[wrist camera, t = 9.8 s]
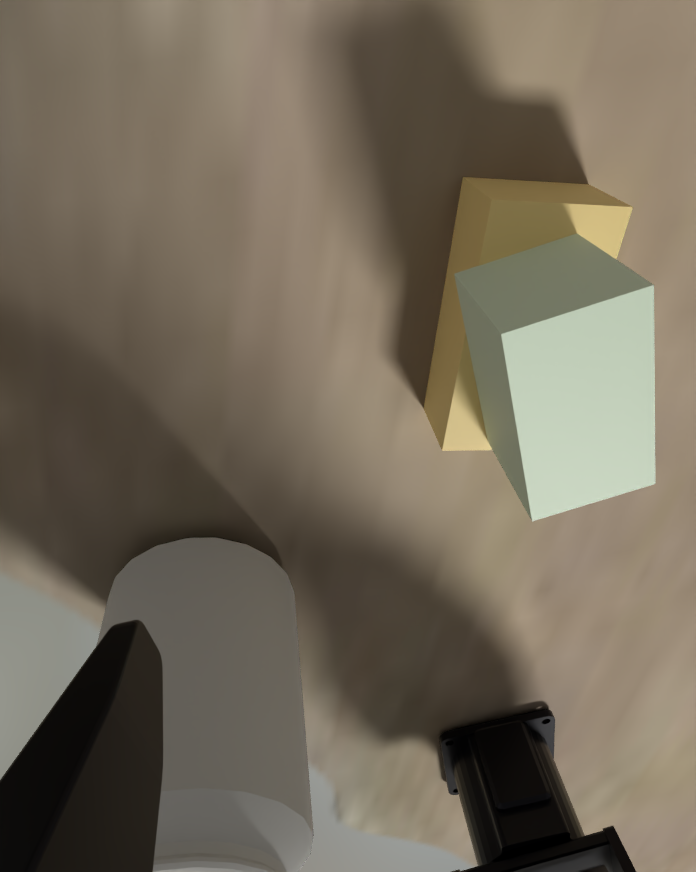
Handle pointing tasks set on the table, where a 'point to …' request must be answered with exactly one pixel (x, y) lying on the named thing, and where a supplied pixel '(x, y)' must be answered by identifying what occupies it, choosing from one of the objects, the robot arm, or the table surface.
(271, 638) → the can
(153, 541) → the table surface
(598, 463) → the sage brick
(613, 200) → the ochre brick
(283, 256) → the table surface
